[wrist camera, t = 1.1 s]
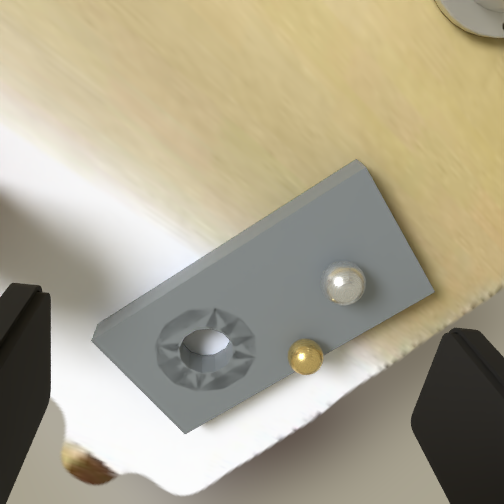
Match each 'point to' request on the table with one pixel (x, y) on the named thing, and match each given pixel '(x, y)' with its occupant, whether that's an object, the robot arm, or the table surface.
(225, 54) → the table surface
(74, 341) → the table surface
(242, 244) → the hole board
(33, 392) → the robot arm
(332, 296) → the ball
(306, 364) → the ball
